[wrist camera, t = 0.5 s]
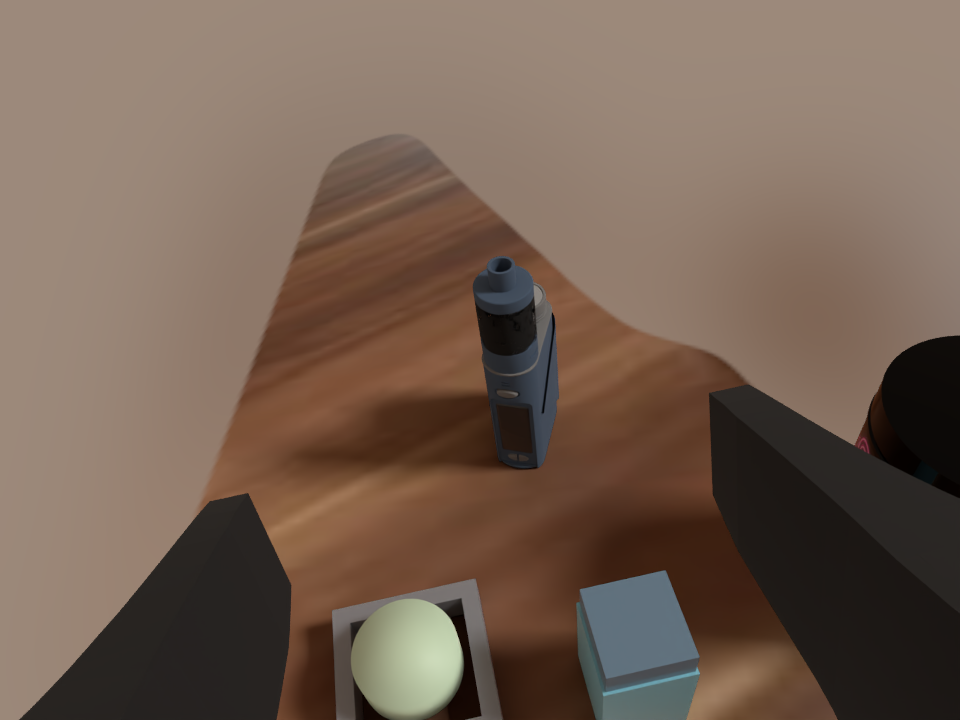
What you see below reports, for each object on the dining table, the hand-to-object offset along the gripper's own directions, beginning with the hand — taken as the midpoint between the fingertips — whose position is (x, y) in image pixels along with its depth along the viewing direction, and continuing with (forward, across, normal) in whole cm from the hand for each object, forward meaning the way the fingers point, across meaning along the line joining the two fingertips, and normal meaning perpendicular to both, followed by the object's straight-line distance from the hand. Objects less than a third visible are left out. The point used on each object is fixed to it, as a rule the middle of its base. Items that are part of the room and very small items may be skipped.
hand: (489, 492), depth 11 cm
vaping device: (+21, -2, +15) cm, 26 cm away
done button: (+10, +5, +16) cm, 19 cm away
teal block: (+8, -3, +18) cm, 20 cm away
